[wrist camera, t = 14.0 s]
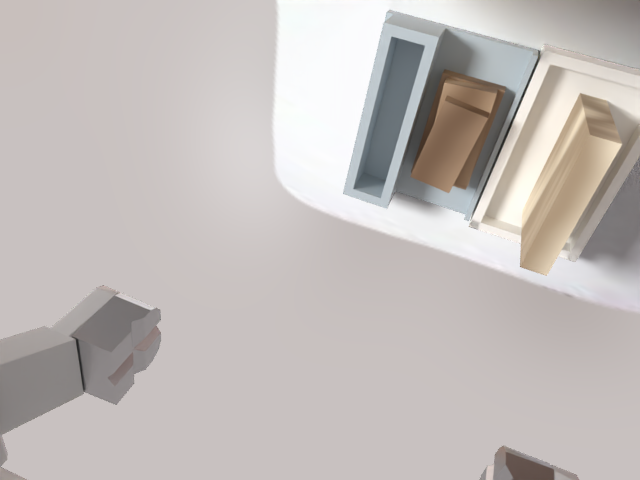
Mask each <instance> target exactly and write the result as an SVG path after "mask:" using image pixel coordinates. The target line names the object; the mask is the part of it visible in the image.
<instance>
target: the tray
mask: <svg viewBox="0 0 640 480" xmlns="http://www.w3.org/2000/svg"><path fill="white" fill-rule="evenodd" d="M580 93H582V94H585V95H589V96H593V97H596V98H600V99H603V100H607V103H608V106H609V109H610V111H611V114H612V117H613V120H614V123H615V125H616V128H617V131H618V134H619V137H620V139H621V142H622V146H621V147H620V149H619V151H618V153H617V154H616V156H615V158H614V160H613V161H612V163H611V165H610V167H609V168H608V170H607V172H606V174H605V175H604V177H603V179H602V181H601V182H600V184H599V186H598V187H597V189H596V191H595V193H594V194H593V196H592V198H591V200H590V201H589V203H588V205H587V207H586V208H585V210H584V212H583V214H582V215H581V217H580V219H579V220H578V222H577V224H576V226H575V227H574V229H573V231H572V233H571V234H570V236H569V238H568V240H567V241H566V243H565V245H564V247H563V248H562V250H561V252H560V254H559V255H558V257H561V258H564V259H567V260H570V261H573V262H576V261H577V259H578V257H579V256H580V254H581V252H582V251H583V249H584V247H585V246H586V244H587V242H588V241H589V239H590V237H591V236H592V234H593V232H594V231H595V229H596V228H597V226H598V224H599V223H600V221H601V219H602V218H603V216H604V214H605V213H606V211H607V209H608V208H609V206H610V204H611V203H612V201H613V199H614V198H615V196H616V195H617V193H618V191H619V190H620V188H621V186H622V185H623V183H624V181H625V180H626V178H627V176H628V175H629V173H630V171H631V170H632V168H633V166H634V165H635V163H636V162H637V160H638V158H639V157H640V70H639V69H635V68H631V67H628V66H624V65H620V64H616V63H613V62H609V61H605V60H601V59H598V58H594V57H590V56H586V55H583V54H579V53H575V52H571V51H568V50H564V49H560V48H556V47H553V46H549V45H545V44H543V47H542V49H541V51H540V54H539V56H538V59H537V61H536V63H535V66H534V68H533V70H532V73H531V75H530V77H529V80H528V82H527V85H526V87H525V89H524V92H523V94H522V96H521V99H520V101H519V103H518V106H517V108H516V111H515V113H514V115H513V118H512V120H511V122H510V125H509V127H508V130H507V132H506V134H505V137H504V139H503V141H502V144H501V146H500V148H499V151H498V153H497V156H496V158H495V160H494V163H493V165H492V167H491V170H490V172H489V174H488V177H487V179H486V182H485V184H484V186H483V189H482V191H481V193H480V196H479V198H478V200H477V203H476V205H475V208H474V210H473V212H472V215H471V219H470V224H469V227H471V228H474V229H477V230H480V231H483V232H486V233H489V234H492V235H495V236H498V237H501V238H504V239H507V240H510V241H513V242H516V243H519V244H521V232H522V210H523V208H524V206H525V204H526V202H527V200H528V198H529V196H530V194H531V192H532V190H533V188H534V186H535V184H536V182H537V180H538V178H539V176H540V173H541V171H542V169H543V167H544V165H545V163H546V161H547V159H548V157H549V155H550V153H551V151H552V149H553V147H554V145H555V143H556V141H557V139H558V137H559V135H560V133H561V131H562V129H563V127H564V125H565V122H566V120H567V118H568V116H569V114H570V112H571V110H572V108H573V106H574V104H575V102H576V100H577V98H578V96H579V94H580Z"/></svg>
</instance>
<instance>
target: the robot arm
mask: <svg viewBox="0 0 640 480" xmlns="http://www.w3.org/2000/svg"><path fill="white" fill-rule="evenodd" d="M160 320H161V315H160V310H159V309H157V308H155V307H153V306H151V305H148V304H146V303H144V302H142V301H139V300H137V299H134V298H132V297H130V296H128V295H125V294H123V293H120V292H118V291H115V290H113V289H111V288H108V287H106V286H104V285H103V286H100V287H97V288H95V289H94V290H93V291H92V292H90V293H89V294H88V295H87V296H86V297H85V298H84V299H83V300H82V301H80V302H79V303H78V304H77V305H76V306H75V307H73V308H72V309H71V310H70V311H69V312H68V313H67V314H66V315H65V316H63V317H62V318H61V319H60V320H59V321H58V322H57V323H55V324H54V325H53V326H52V327H51V328H49V327H46V326H43V327H40V328H37V329H34V330H30V331H27V332H24V333H20V334H17V335H14V336H11V337H8V338H4V339H1V340H0V480H27V479H24V478H22V477H20V476H18V475H16V474H14V473H12V472H10V471H8V470H6V469H4V468H2V467H1V466H2V464H3V463H4V462H5V461H6V460H7V451H6V447H5V444H4V441H3V438H2V434H4V433H6V432H8V431H10V430H12V429H14V428H16V427H18V426H20V425H22V424H24V423H26V422H28V421H30V420H32V419H34V418H36V417H38V416H40V415H43V414H44V413H46V412H48V411H50V410H53V409H55V408H56V407H58V406H61V405H63V404H64V403H67V402H69V401H70V400H73V399H74V398H77V397H79V396H81V395H82V394H84V392H86V393H89V394H91V395H93V396H96V397H98V398H100V399H103V400H106V401H108V402H111V403H113V404H115V405H117V403H118V402H119V401H120V400H121V398H122V397H123V396H124V395H125V394H126V393H127V391H128V390H129V389H130V388H131V387H132V385H133V384H134V374H135V373H138V372H140V371H143V370H145V369H146V368H147V367H148V366H149V364H150V363H151V362H152V361H153V359H154V357H155V355H156V353H157V351H158V349H159V345H160V342H161V332H160V331H159V329H158V328H157V326H156V325H157V324H158V322H159V321H160ZM480 480H579V479H578V477H577V475H576V474H573V473H571V472H568V471H566V470H563V469H561V468H558V467H556V466H553V465H550V464H549V463H547V462H544V461H542V460H539V459H537V458H534V457H532V456H529V455H526V454H524V453H521V452H519V451H516V450H513V449H511V448H508V447H505V446H502V447H500V448H499V449H498V451H497V452H496V454H495V460H494V464H493V465H489V466H487V467H486V469H485V470H484V472H483V474H482V475H481V478H480Z"/></svg>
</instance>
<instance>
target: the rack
mask: <svg viewBox="0 0 640 480" xmlns="http://www.w3.org/2000/svg"><path fill="white" fill-rule="evenodd" d="M537 58H538V50H536V49H533V48H529V47H525V46H522V45H518V44H514V43H510V42H507V41H503V40H499V39H496V38H492V37H488V36H484V35H481V34H477V33H473V32H470V31H466V30H462V29H458V28H455V27H451V26H447V25H444V24H440V23H436V22H432V21H429V20H425V19H421V18H418V17H414V16H410V15H406V14H403V13H399V12H395V11H392V10H389V11H388V12H387V13H386V17H385V22H384V24H383V28H382V32H381V36H380V41H379V45H378V49H377V53H376V57H375V62H374V66H373V70H372V74H371V78H370V83H369V87H368V91H367V95H366V99H365V104H364V108H363V112H362V116H361V120H360V125H359V129H358V133H357V137H356V141H355V146H354V150H353V154H352V158H351V162H350V167H349V171H348V175H347V179H346V183H345V188H344V192H343V194H345V195H348V196H351V197H354V198H357V199H360V200H363V201H366V202H369V203H372V204H375V205H378V206H381V207H384V208H388V206H389V204H390V201H391V199H392V197H393V195H394V193H395V191H396V192H399V193H402V194H405V195H408V196H411V197H414V198H417V199H420V200H423V201H426V202H430V203H433V204H436V205H439V206H442V207H445V208H448V209H451V210H454V211H457V212H460V213H463V214H466V215H465V219H464V220H467V221H469V219H470V217H471V214H472V212H473V210H474V207H475V205H476V203H477V200H478V198H479V196H480V193H481V191H482V188H483V186H484V184H485V181H486V179H487V177H488V174H489V172H490V170H491V167H492V165H493V162H494V160H495V158H496V155H497V153H498V151H499V148H500V146H501V143H502V141H503V139H504V136H505V134H506V132H507V129H508V127H509V125H510V122H511V120H512V117H513V115H514V113H515V110H516V108H517V106H518V103H519V101H520V99H521V96H522V94H523V91H524V89H525V87H526V84H527V82H528V80H529V77H530V75H531V72H532V70H533V68H534V65H535V63H536V61H537ZM444 69H446V70H449V71H453V72H456V73H460V74H463V75H467V76H471V77H474V78H478V79H481V80H485V81H488V82H492V83H495V84H499V85H502V86H506V89H505V93H504V96H503V98H502V101H501V103H500V106H499V108H498V110H497V113H496V115H495V118H494V120H493V123H492V125H491V128H490V130H489V133H488V135H487V138H486V140H485V143H484V145H483V148H482V150H481V153H480V155H479V158H478V160H477V163H476V165H475V168H474V170H473V173H472V175H471V178H470V181H469V184H468V186H467V188H466V190H464V189H461V188H458V187H455V186H453V187H452V189H451V190H450V192H449V193H447V192H445V191H442V190H440V189H438V188H435V187H433V186H431V185H428V184H426V183H424V182H421V181H419V180H417V179H414V178H412V177H410V176H411V170H412V167H413V164H414V161H415V157H416V154H417V151H418V148H419V145H420V142H421V139H422V136H423V132H424V129H425V126H426V123H427V120H428V117H429V114H430V111H431V107H432V104H433V101H434V98H435V95H436V92H437V89H438V86H439V82H440V79H441V76H442V73H443V71H444Z"/></svg>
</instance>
